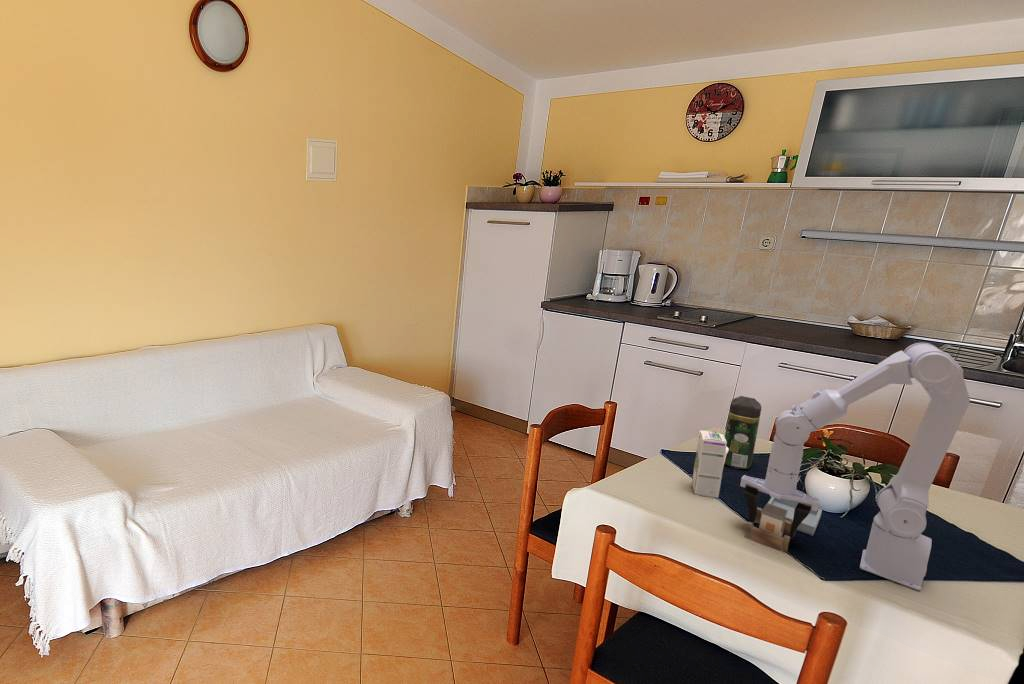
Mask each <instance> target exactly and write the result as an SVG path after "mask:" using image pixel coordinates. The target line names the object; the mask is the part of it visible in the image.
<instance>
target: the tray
mask: <svg viewBox="0 0 1024 684" xmlns="http://www.w3.org/2000/svg"><path fill="white" fill-rule="evenodd" d="M767 503H768V504H771V505H774V506H777V507H780V508H783V509H786V510H788V512H787V515H786V520H787V521H790V522H792V520H793V517H794V511H795V508H796V506H797V504H796V503H793V502H790V501H787V500H784V499H776V498H773V497H771V496H770V499H769V500H768V502H767ZM822 513H823V509H821V508H818V509H817V511H813V510H810V513H809V515H808V516H807V517H806V518H805V519H804V520H803V521H802V522H801V523H800V525H799V526H798V528H797V529H796V531H798V532H801V533H804V534H806V535H808V536H811V537H812V536H813V537H814V535H815V532H816V530H817V528H818V525H819V523H820V520H821V517H822Z"/></svg>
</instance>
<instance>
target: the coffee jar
mask: <svg viewBox="0 0 1024 684" xmlns="http://www.w3.org/2000/svg"><path fill="white" fill-rule="evenodd" d="M729 406H730V407H729V410H728V416H727V420H726V427H725V433H724V437H725V439H726V441H727V445H726V446H727V447H728V448H729V451H728V453H727V455H726V459H725V463H724V465H726V466H729V467H731V468H733V467H734V468H733V469H738V470H739V469H740V470H748V469H750V468H751V466H752V464H753V458H754V454H755V446H756V442H757V441H756V440H757V435H758V431H759V430H758V429H759V425H760V419H761V418H760V417H761V412H762V405H761V403H760V402H759V401H758V400H756V398H754V397H749V396H744V395H740V396H738V397H734V398H733V399H731V402H730V405H729Z"/></svg>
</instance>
